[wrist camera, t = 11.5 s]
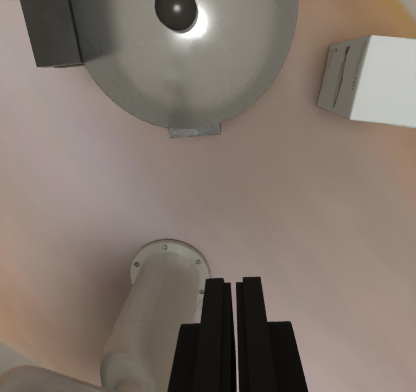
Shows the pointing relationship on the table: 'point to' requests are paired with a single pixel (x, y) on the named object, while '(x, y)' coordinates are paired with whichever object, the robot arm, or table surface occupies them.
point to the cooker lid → (168, 52)
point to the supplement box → (372, 80)
